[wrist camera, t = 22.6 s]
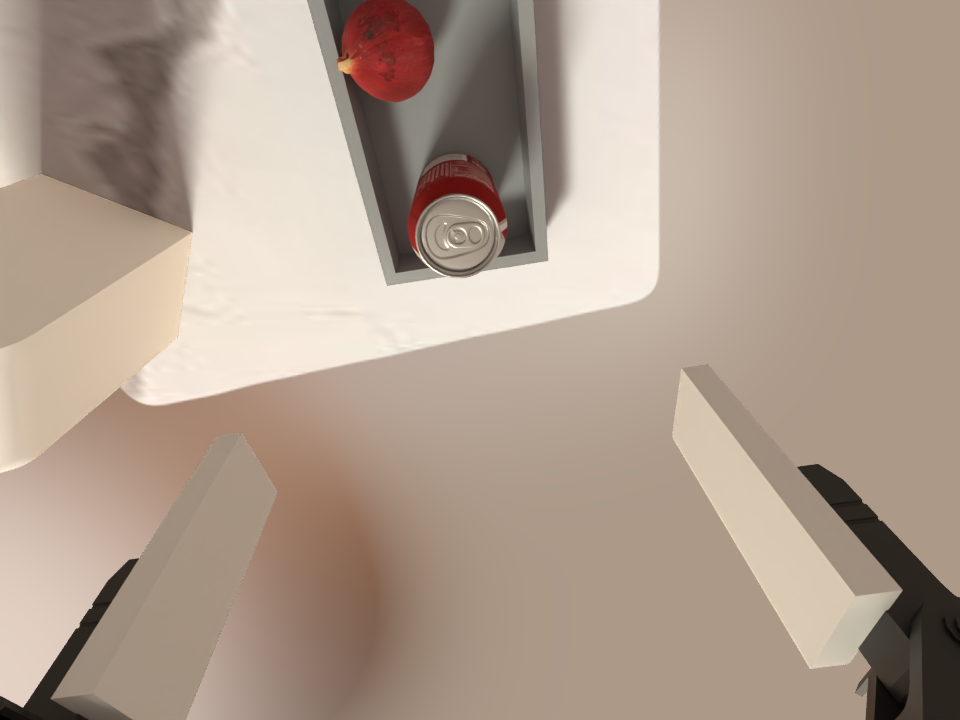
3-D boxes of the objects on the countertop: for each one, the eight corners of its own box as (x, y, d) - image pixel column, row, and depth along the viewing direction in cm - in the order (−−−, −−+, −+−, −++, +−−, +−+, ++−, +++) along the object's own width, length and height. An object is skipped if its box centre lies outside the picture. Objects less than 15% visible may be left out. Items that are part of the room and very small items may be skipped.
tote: (313, -40, 30) (291, -57, 26) (516, -77, 30) (527, -99, 26) (393, 264, 42) (387, 285, 38) (538, 241, 42) (548, 260, 38)
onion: (418, -35, 29) (323, -24, 24) (471, 46, 30) (391, 71, 25) (383, 37, 34) (298, 58, 29) (431, 105, 35) (356, 135, 30)
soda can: (411, 154, 37) (397, 187, 27) (493, 148, 37) (509, 179, 27) (422, 235, 40) (413, 290, 30) (496, 229, 40) (511, 282, 30)
